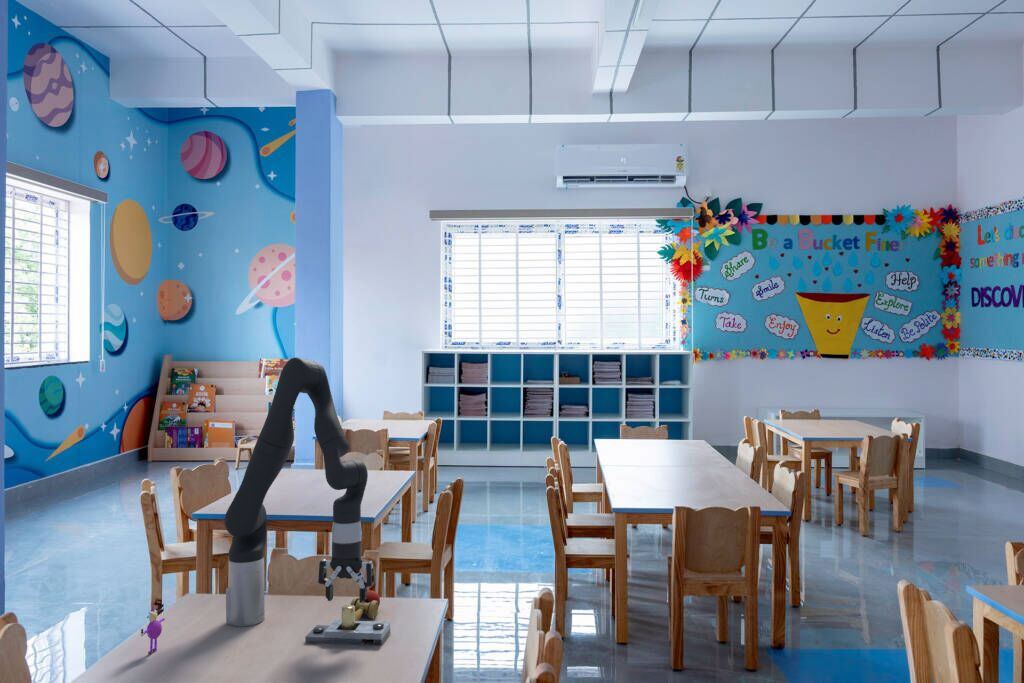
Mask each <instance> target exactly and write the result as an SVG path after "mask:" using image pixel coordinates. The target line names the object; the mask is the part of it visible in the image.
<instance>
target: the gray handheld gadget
mask: <svg viewBox="0 0 1024 683" xmlns="http://www.w3.org/2000/svg"><path fill="white" fill-rule="evenodd" d="M390 635H391V622H390V621H373V620H370V621H369V620H366V621H365V620H359V621H355V630H342V619H340V620H339V619H335V620H333V621H332V623H330V625H326V624H317V625H315V626H314V627H313V629H311V630H310V631H309V632H308V633H307V634H306V636H305V643H307V644H311V643H312V644H335V645H353V646H356V645H358V646H359V645H360V646H362V645H364V644H365V642H366V641H367V640H373V646H383V645H384V643H385V642H386V641H387V639H388V637H389V636H390Z"/></svg>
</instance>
